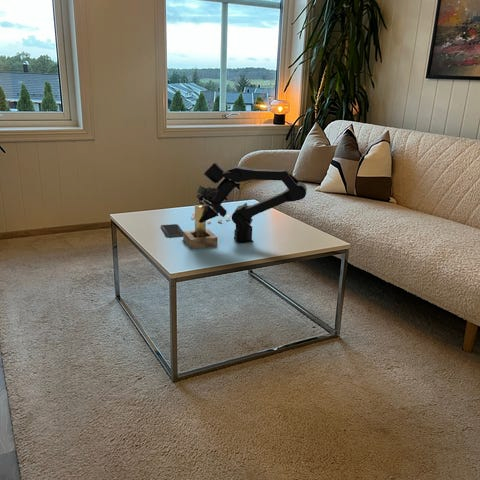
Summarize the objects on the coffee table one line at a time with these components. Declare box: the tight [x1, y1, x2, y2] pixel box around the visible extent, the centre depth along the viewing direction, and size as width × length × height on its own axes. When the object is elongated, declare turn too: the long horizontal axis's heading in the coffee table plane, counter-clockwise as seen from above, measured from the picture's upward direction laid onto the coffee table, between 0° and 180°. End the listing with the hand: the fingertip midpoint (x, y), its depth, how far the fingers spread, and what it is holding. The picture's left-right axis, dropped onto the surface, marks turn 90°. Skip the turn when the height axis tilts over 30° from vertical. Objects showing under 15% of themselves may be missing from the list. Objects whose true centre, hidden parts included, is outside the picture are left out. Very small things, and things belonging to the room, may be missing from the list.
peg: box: [194, 204, 207, 238], centre depth 189 cm, size 4×4×14 cm
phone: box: [160, 223, 183, 238], centre depth 204 cm, size 8×1×15 cm
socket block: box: [182, 228, 218, 249], centre depth 191 cm, size 11×11×4 cm
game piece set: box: [190, 211, 231, 225], centre depth 225 cm, size 19×20×4 cm
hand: (197, 220), depth 188 cm, fingers closed on peg, 4 cm apart
